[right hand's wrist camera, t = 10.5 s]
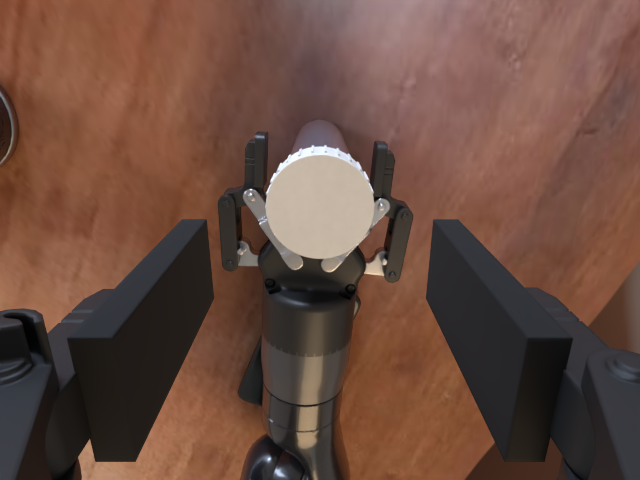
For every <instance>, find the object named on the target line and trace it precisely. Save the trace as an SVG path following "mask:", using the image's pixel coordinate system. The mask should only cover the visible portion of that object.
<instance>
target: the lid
mask: <svg viewBox="0 0 640 480" xmlns="http://www.w3.org/2000/svg"><path fill="white" fill-rule="evenodd" d="M368 182H369V179H368V176H367V174H366V172H363V171H362V168H361V166H360V164H359V162H356V161H355V160H354V159H352V158H351V156H350V154H349V153H348V154H346V153H344V152H342V151H340V150H339V148H337V149H334V148H330V147H327V145H324V147H321V146H320V147H314V145H312V147H310V148H306V149H303V150H302V148H301V149H299V151H298V152H296V153H294V154H293V155H291V154H290V155H289V156H288V158H287V159H286V160H285V161H284V162H283V164H282V163H280V165H279V167H278V169H277V172H276V173H274V174H273V176H272V179H271V181H270V183H271V184H270V186H269V188H268V190H267V192H266V195H267V198H266V205H265V208H266V215H267V219H268V223H269V225H270V228H271V230H272V232H273V233H274V235H275V236H276V238H277V239H278V240H279V241H280V242H281V243H282V244H283V245H284V246H285V247H286V248H288V249H289V250H291V251H292V252H294V253H296V254H299V255H301V256H304V257H308V258H315V259H326V258H332V257H336V256H339V255H341V254H344V253H346V252H348V251H349V250H351V249H352V248H354V247H355V246H356V245H357V244H358V243H359V242H360V241H361V240H362V239H363V238H364V236H365V235H366V233H367V232H368V230H369V228H370V225H371V223H372V219H373V215H374V206H375V203H374V198H373V193H374V192H373V189H372V187H371V185H370V183H368Z"/></svg>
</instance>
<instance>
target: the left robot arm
mask: <svg viewBox="0 0 640 480" xmlns="http://www.w3.org/2000/svg"><path fill="white" fill-rule="evenodd" d="M18 134H19V128H18V120H17V116H16V113H15V110H14V107H13V105H12V103H11V101H10V99H9V97H8V96H7V94H6V93H5V91H4V90H3V89H2V87H1V86H0V167H1V166H2V165H3V164H5V163H6V162H7V161H8V160H9V159H10V157H11V156H12V154H13V153H14V151H15V148H16V145H17V142H18ZM267 157H268V132H257V133H256V135H255V140H253V139H251V140H250V141H249V142H248V144H247V146H246V149H245V184H244V185H243V186H241V187H237V188H229V189H227V190H226V191H225V193H224V195H222V196H221V197H220V199H219V200H218V211H219V226H220V240H221V255H222V266H223V268H224V269H225V270H227V271H234V270H236V269H237V267H238V266H259V268H260V270H261V272H262V274H263V279H264V282H263V312H262V343H261V361H262V369H263V397H262V421H263V426H264V429H265V431H266V434H264V435H262V436H261V437H260V438H258V439H257V440H256V441H255V442H254V443H253V444H252V446H251V447H250V449H249V451H248V453H247V455H246V458H245V461H244V465H243V469H242V473H241V478H240V480H350V470H349V463H348V458H347V454H346V450H345V446H344V442H343V437H342V432H341V426H340V419H339V415H340V406H341V397H342V388H343V380H344V376H345V373H346V370H347V366H348V360H349V352H350V344H351V335H352V327H353V318H354V310H355V301H356V292H357V285H358V282H359V280H360V278H361V277H362V276H363V275H364V274H372V275H380V276H384V277H385V279H386V280H387V281H388V282H391V283H393V282H396V281H398V280H399V278H400V275H401V270H402V266H403V261H404V256H405V252H406V247H407V243H408V238H409V234H410V229H411V225H412V220H413V214H412V212H411V210H410V209H409V207H408V206H407V205H406V203H405V202H404V201H399V200H397V199H394V198H392V197H391V186H392V179H393V171H394V164H395V159H394V155H393V153H392V152H391V151H390V150H387V144H386V143H385V142H381V141H375V142H374V149H373V157H372V166H371V174H370V185H371V187H372V189H373V192H374V193H373V198H374V203H375V206H374V215H373V219H372V223H371V225H370V228H369V230H368V232H367V233H366V235H365V236H364V238H363V239H362V240H361V241H360V242H359V243H358V244H357V245H356V246H355V247H354V248H352V249H351V250H349V251H348V252H346V253H344V254H341V255H339V256H336V257H332V258H326V259H315V258H308V257H304V256H301V255H299V254H296V253H294V252H292V251H291V250H289V249H288V248H286V247H285V246H284V245H283V244H282V243H281V242H280V241H279V240H278V239H277V238H276V236H275V235H274V233H273V232H272V230H271V228H270V225H269V223H268V219H267V215H266V208H265V205H266V198H267V195H266V192H267V191H266V190H265V188H264V185H265V183H266V181H267ZM245 205H247V206H248V207H249V208H250V210H251V211H252V213H253V214H254V215H255V217H256V218H257V220H258V222H259V225H260V227H261V228H262V230H263V231H264V232H265V234H266V235H267V236H268V238H269V240H268V241H267V242H266V243H265V244H264V246H263V247H262V248H261V250H260V251H256V250H254V249H253V248H252V246H251V242H250V241H249V240H248V239H247V238H244V237H242V221H241V207H242V206H245ZM384 215H385V216H387V217H390V218H389V223H388V228H387V233H386V238H385V243H384V247H380V248H378V249H376V251H375V253H374V255H373V256H372V257H371V258H368V259H365V257H364V255H363V253H362V252H361V250H360V249H359V247H358V245H359V244H360V243H361V242H362V241H363V240H364V239H365V238H366V237H367V236H368V234H369V233H370V231H371V229H372V228H373V226H374V225H375V224H376V223H377V222H378V221H379V220H380V219H381V218H382V217H383V216H384Z"/></svg>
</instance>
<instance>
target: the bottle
mask: <svg viewBox="0 0 640 480" xmlns="http://www.w3.org/2000/svg"><path fill="white" fill-rule="evenodd" d="M312 145H314V147H320V146H321V147H324V145H327V147H330V148H334V149H337V148H339V150H340V151H342V152H344V153H346V154H348V153H349V151H348V148H347V146H346V143H345V141H344V138H343V135H342V133H341V131H340V130H339V128H338V127H337V126H336V125H334V124H333V123H331V122H329V121H327V120H313V121H311V122H309V123H307V124H306V125H304V126H303V127H302V128H301V130H300V131H299V133H298V135H297V138H296V141H295V143H294V146H293V148H292V151H291V153H290V154H291V155H293V154H294V153H296V152H298V151H299V149H301V148H302V150H303V149H306V148H310V147H312ZM349 154H350V153H349Z"/></svg>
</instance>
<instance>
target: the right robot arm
mask: <svg viewBox="0 0 640 480" xmlns="http://www.w3.org/2000/svg"><path fill="white" fill-rule="evenodd" d="M213 299H214V293H213V283H212V272H211V261H210V251H209V240H208V230H207V220H181V221H180V222H179V223H178V224H177V225H176V226H175V227H174V228H173V229H172V230H171V231H170V232H169V233H168V234H167V235H166V236H165V238H164V239H163V240H162V241H161V242H160V243H159V244H158V245H157V246H156V247H155V248H154V249H153V250H152V251H151V252H150V253H149V254H148V255H147V256H146V257H145V258H144V259H143V260H142V261H141V262H140V263H139V264H138V265H137V266H136V267H135V268H134V269H133V270H132V271H131V272H130V273H129V274H128V276H127V277H126V278H125V279H124V280H123V281H122V282H121V283H120V284H119V285H118V286H117V287H116V288H115V289H103V290H101V291H99V292H97V293H95V294H93V295H91V296H89V297H87V298H85V299H84V300H83V301H82V302H81V303H80V304H79V305H77V306H76V307H75V308H74V309H73V310H72V313H69V314H68V315H67V316H66V317H65V318H64V319H63V320H62V322H61V323H58V324H57V325H56V326H55V327H54V328H53V329H52V330H51V331H50V332H49V333H48V334H47V332H46V328H45V324H44V320H43V316H42V314H40V313H39V312H37V311H36V310H30V309H11V310H4V311H0V480H81V478H82V475H81V468H80V464H79V460H78V456H79V455H80V453H81V451H82V450H83V448H84V447H85V445H86V444H87V442H88V440H89V439H90V440H91V445H92V449H93V453H94V457H95V462H136V460H137V457H138V455H139V453H140V451H141V449H142V447H143V445H144V443H145V441H146V439H147V437H148V435H149V432H150V430H151V428H152V426H153V424H154V422H155V420H156V418H157V416H158V414H159V412H160V410H161V408H162V405H163V403H164V401H165V399H166V397H167V395H168V393H169V391H170V389H171V387H172V385H173V383H174V380H175V378H176V376H177V374H178V372H179V370H180V368H181V366H182V364H183V362H184V360H185V358H186V356H187V353H188V351H189V349H190V347H191V345H192V343H193V341H194V339H195V337H196V335H197V333H198V331H199V328H200V326H201V324H202V322H203V320H204V318H205V316H206V314H207V312H208V310H209V308H210V306H211V304H212V301H213ZM426 299H427V301H428V304H429V306H430V308H431V310H432V312H433V314H434V316H435V318H436V320H437V322H438V324H439V326H440V328H441V331H442V333H443V335H444V337H445V339H446V341H447V343H448V345H449V347H450V349H451V351H452V353H453V356H454V358H455V360H456V362H457V364H458V366H459V368H460V370H461V372H462V374H463V376H464V378H465V380H466V383H467V385H468V387H469V389H470V391H471V393H472V395H473V397H474V399H475V401H476V403H477V405H478V408H479V410H480V412H481V414H482V416H483V418H484V420H485V422H486V424H487V426H488V428H489V430H490V432H491V435H492V437H493V439H494V441H495V443H496V445H497V447H498V449H499V451H500V453H501V455H502V457H503V460H504V461H505V462H544V461H545V457H546V453H547V449H548V445H549V440H550V437H551V438H552V440H553V441H554V443H555V444H556V446H557V447H558V449H559V451H560V452H561V454H562V455H563V456H562V460H561V464H560V468H559V472H558V476H557V480H640V354H638V353H634V352H630V351H626V350H622V349H612V348H610V347H609V346H608V345H606V344H605V343H604V342H603V341H602V340H601V339H600V338H599V337H598V336H597V335H596V334H595V333H594V332H592V331H591V330H590V329H589V328H588V327H587V326H586V325H585V324H584V323H583V322H582V321H579V318H577V317H576V316H575V315H574V314H573V313H572V312H571V311H568V308H567V307H566V306H565V305H564V304H562V303H561V302H560V301H559V300H558V299H557V298H556V297H554V296H552V295H550V294H548V293H546V292H544V291H542V290H541V289H539V288H524V287H523V286H522V285H521V284H520V283H519V282H518V281H517V280H516V279H515V278H514V277H513V276H512V274H511V273H510V272H509V271H508V270H507V269H506V268H505V267H504V266H503V265H502V264H501V263H500V262H499V261H498V260H497V259H496V258H495V257H494V256H493V255H492V254H491V253H490V252H489V251H488V250H487V249H486V248H485V247H484V246H483V245H482V244H481V243H480V242H479V241H478V240H477V239H476V238H475V236H474V235H473V234H472V233H471V232H470V231H469V230H468V229H467V228H466V227H465V226H464V225H463V224H462V223H461V222H460V221H459V220H433V230H432V240H431V251H430V261H429V272H428V283H427V293H426Z"/></svg>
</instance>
